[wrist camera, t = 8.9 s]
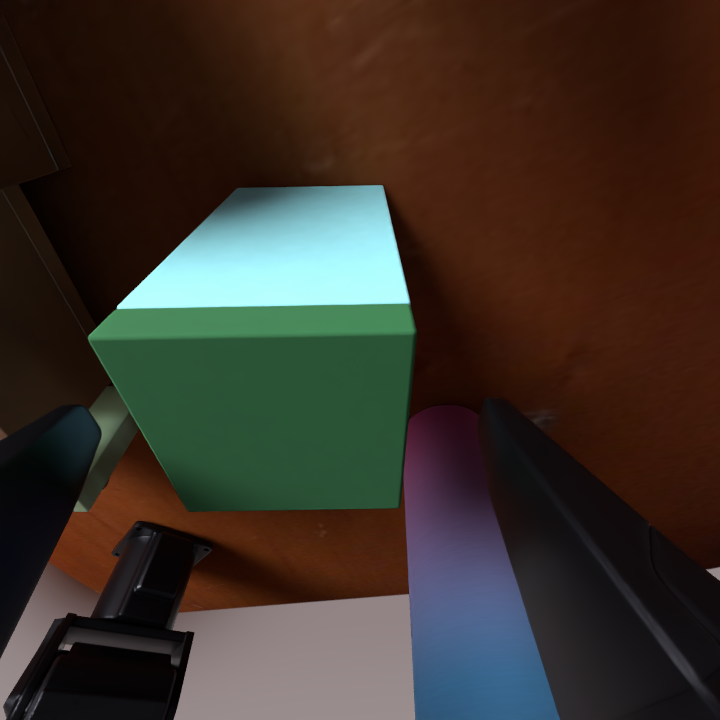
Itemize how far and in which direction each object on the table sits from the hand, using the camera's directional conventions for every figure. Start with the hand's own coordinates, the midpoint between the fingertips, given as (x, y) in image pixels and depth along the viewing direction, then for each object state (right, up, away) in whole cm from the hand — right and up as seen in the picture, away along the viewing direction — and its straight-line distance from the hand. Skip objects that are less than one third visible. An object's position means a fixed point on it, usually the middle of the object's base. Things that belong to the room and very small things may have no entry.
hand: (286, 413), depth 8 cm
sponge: (0, +6, +7) cm, 9 cm away
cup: (+7, -3, +15) cm, 16 cm away
